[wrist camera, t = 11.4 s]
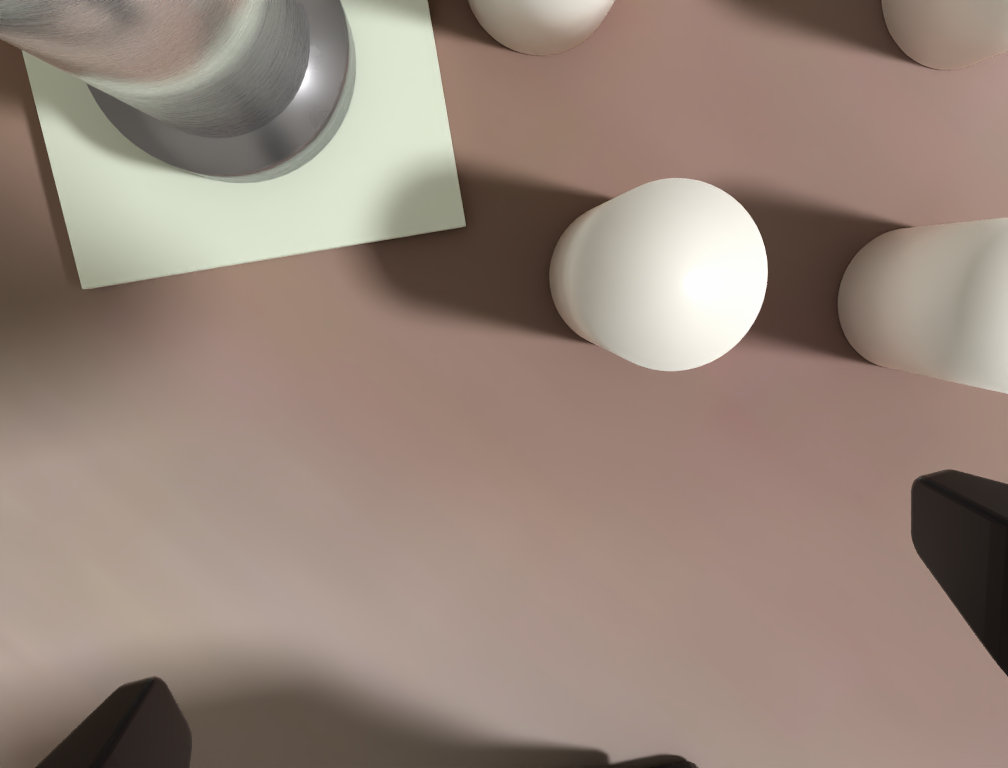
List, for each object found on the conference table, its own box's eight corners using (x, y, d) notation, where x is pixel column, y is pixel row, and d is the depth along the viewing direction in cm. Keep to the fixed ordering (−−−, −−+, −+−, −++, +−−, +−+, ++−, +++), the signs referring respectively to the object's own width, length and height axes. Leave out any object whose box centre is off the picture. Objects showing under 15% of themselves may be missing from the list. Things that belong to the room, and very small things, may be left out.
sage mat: (465, 226, 20) (465, 225, 20) (91, 288, 20) (82, 289, 19) (396, -179, 18) (394, -191, 18) (-12, -121, 18) (-25, -132, 18)
